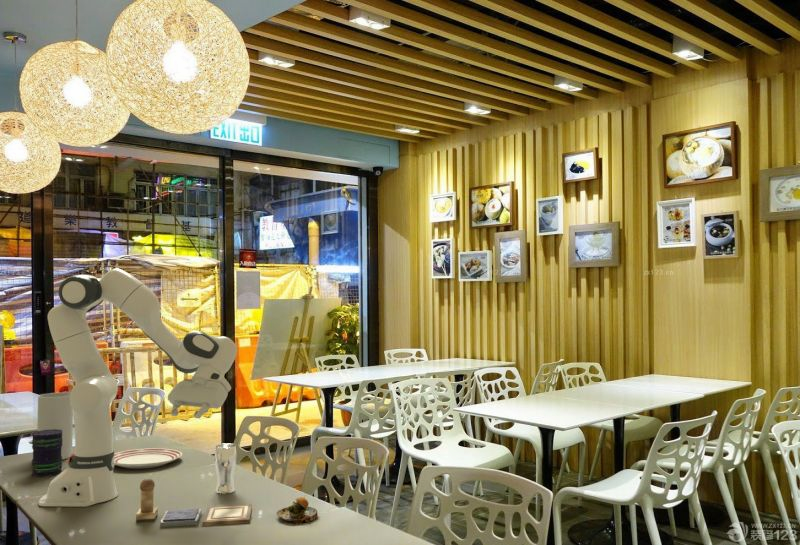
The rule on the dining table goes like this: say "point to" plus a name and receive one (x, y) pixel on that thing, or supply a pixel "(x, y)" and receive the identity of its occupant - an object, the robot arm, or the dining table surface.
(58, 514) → the dining table surface
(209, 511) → the board
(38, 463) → the storage jar
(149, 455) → the dinner plate
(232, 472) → the beer glass
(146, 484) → the stamp
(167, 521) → the ink pad
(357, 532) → the dining table surface
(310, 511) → the plate of salad
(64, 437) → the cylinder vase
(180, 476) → the dining table surface
